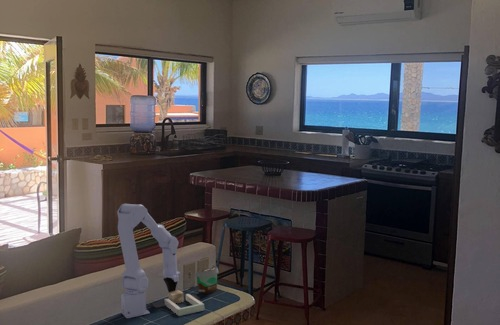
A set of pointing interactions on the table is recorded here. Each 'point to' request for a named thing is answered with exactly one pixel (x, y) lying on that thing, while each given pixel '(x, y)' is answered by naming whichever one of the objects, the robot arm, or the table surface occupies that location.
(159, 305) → the plate
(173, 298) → the birch block
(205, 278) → the food container
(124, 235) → the robot arm
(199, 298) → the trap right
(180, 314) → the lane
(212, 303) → the table surface
